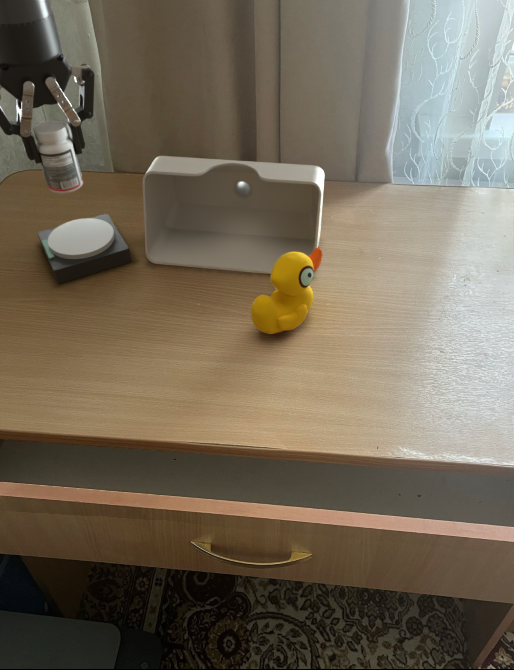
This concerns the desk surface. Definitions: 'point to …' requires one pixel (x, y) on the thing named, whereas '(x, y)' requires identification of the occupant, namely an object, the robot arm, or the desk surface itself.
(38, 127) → the pill bottle
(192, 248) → the tank
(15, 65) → the robot arm
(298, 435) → the desk surface
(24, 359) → the desk surface
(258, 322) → the duckling
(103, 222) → the scale
